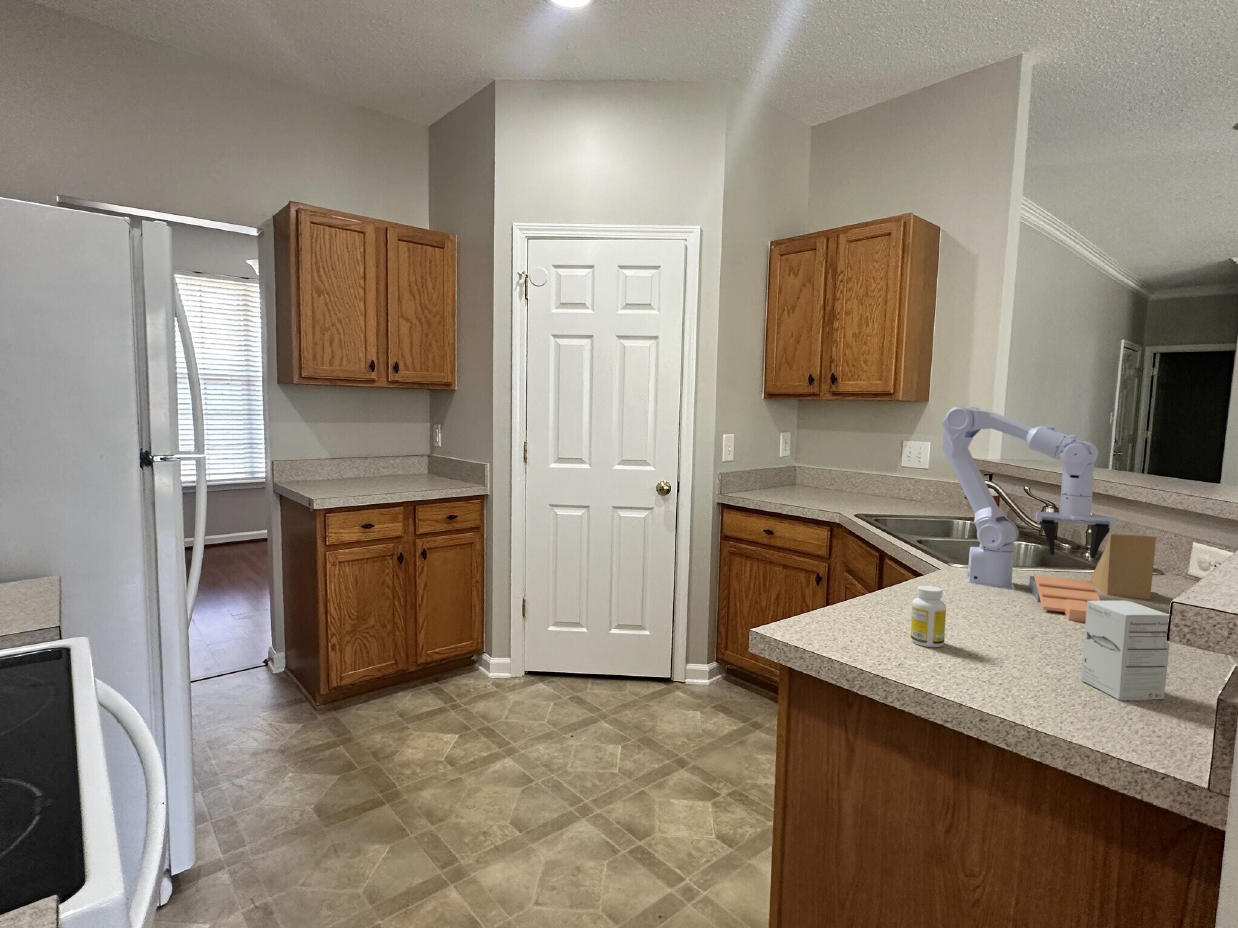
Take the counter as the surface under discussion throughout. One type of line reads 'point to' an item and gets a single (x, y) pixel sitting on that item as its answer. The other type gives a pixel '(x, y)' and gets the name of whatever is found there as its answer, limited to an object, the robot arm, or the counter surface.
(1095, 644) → the supplement box
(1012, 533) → the robot arm
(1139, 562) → the sandwich container
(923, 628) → the supplement bottle
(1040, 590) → the lid
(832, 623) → the counter surface
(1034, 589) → the tub
